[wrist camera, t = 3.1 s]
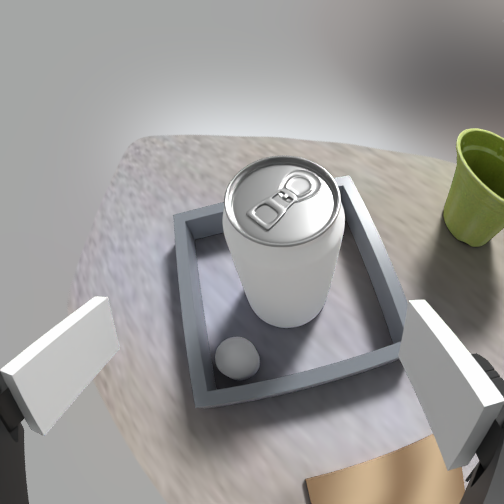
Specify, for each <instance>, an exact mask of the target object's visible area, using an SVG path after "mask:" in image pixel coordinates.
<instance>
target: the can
mask: <svg viewBox="0 0 504 504" xmlns="http://www.w3.org/2000/svg"><path fill="white" fill-rule="evenodd" d="M222 223H223V231H224V235H225V238H226V242H227V245H228V248H229V250H230V253H231V256H232V259H233V262H234V264H235V267H236V270H237V272H238V275H239V278H240V280H241V283H242V286H243V288H244V291H245V294H246V296H247V299H248V301H249V303H250V306H251V308H252V309H253V311H254V312H255V313H256V315H257V316H258V317H259V318H260V319H262V320H263V321H265V322H266V323H268V324H270V325H273V326H276V327H281V328H292V327H298V326H301V325H304V324H306V323H308V322H309V321H311V320H312V319H313V318H315V317H316V316H317V315H318V314H319V312H320V311H321V310H322V308H323V306H324V304H325V302H326V299H327V296H328V292H329V289H330V285H331V282H332V278H333V274H334V271H335V267H336V263H337V259H338V255H339V251H340V247H341V242H342V238H343V233H344V226H345V214H344V209H343V206H342V203H341V195H340V191H339V188H338V185H337V183H336V181H335V180H334V178H333V177H332V176H331V175H330V173H329V172H327V171H326V170H325V169H324V168H323V167H321V166H320V165H318V164H316V163H314V162H312V161H310V160H307V159H304V158H300V157H295V156H272V157H267V158H263V159H260V160H257V161H255V162H253V163H251V164H249V165H247V166H246V167H244V168H243V169H242V170H240V171H239V172H238V173H237V174H236V175H235V176H234V177H233V179H232V180H231V182H230V183H229V185H228V187H227V190H226V193H225V197H224V212H223V220H222Z"/></svg>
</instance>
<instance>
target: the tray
mask: <svg viewBox="0 0 504 504" xmlns="http://www.w3.org/2000/svg"><path fill="white" fill-rule="evenodd" d="M334 180H335V181H336V183H337V185H338V188H339V191H340V195H341V203H342V206H343V209H344V214H345V219H346V221H347V223H348V226H349V228H350V230H351V232H352V235H353V237H354V240H355V242H356V244H357V247H358V249H359V252H360V254H361V257H362V259H363V262H364V264H365V267H366V269H367V272H368V274H369V277H370V279H371V282H372V285H373V287H374V290H375V293H376V296H377V298H378V301H379V304H380V307H381V309H382V312H383V315H384V318H385V321H386V324H387V327H388V330H389V333H390V336H391V339H392V342H393V344H392V345H390V346H387V347H384V348H381V349H378V350H375V351H372V352H369V353H366V354H363V355H360V356H357V357H353V358H350V359H347V360H343V361H340V362H337V363H333V364H330V365H326V366H323V367H319V368H315V369H312V370H308V371H304V372H300V373H296V374H292V375H288V376H283V377H279V378H275V379H270V380H266V381H261V382H256V383H251V384H246V385H241V386H236V387H230V388H225V389H219V390H217V389H216V384H215V378H214V372H213V366H212V361H211V355H210V349H209V342H208V336H207V330H206V323H205V316H204V309H203V302H202V295H201V288H200V281H199V273H198V265H197V257H196V248H195V239H199V238H203V237H207V236H212V235H216V234H220V233H224V231H223V223H222V220H223V212H224V202H222V203H218V204H214V205H210V206H206V207H202V208H198V209H195V210H191V211H187V212H183V213H179V214H175V215H173V217H174V233H175V247H176V260H177V271H178V282H179V292H180V302H181V311H182V320H183V328H184V336H185V343H186V351H187V358H188V365H189V372H190V378H191V385H192V391H193V397H194V403H195V408H213V407H220V406H226V405H232V404H238V403H244V402H249V401H254V400H259V399H264V398H269V397H273V396H278V395H282V394H287V393H291V392H295V391H299V390H303V389H307V388H311V387H315V386H318V385H322V384H326V383H329V382H333V381H336V380H339V379H343V378H346V377H349V376H353V375H356V374H359V373H362V372H365V371H368V370H371V369H374V368H377V367H380V366H382V365H385V364H388V363H391V362H394V361H396V360H399V357H398V355H399V350H400V345H401V340H402V335H403V330H404V325H405V319H406V313H407V307H408V302H407V300H406V297H405V294H404V292H403V289H402V287H401V284H400V282H399V279H398V277H397V275H396V272H395V270H394V267H393V265H392V263H391V260H390V258H389V256H388V253H387V251H386V249H385V247H384V244H383V242H382V240H381V238H380V236H379V233H378V231H377V229H376V227H375V225H374V223H373V221H372V219H371V217H370V215H369V212H368V210H367V208H366V206H365V204H364V202H363V200H362V198H361V196H360V194H359V193H358V191H357V189H356V187H355V185H354V183H353V181H352V179H351V177H350V175H348V176H343V177H337V178H334ZM215 362H216V365H217V367H218V369H219V370H220V371H221V372H222V373H223V374H224V375H226V376H228V377H230V378H231V379H234V380H239V381H242V380H247V379H249V378H251V377H252V376H254V375H255V374H256V372H257V371H258V369H259V366H260V357H259V354H258V352H257V350H256V348H255V347H254V345H253V344H252V343H251V342H250V341H249V340H247V339H245V338H243V337H231V338H228V339H226V340H224V341H223V342H222V343H221V344H220V345H219V346H218V348H217V350H216V353H215Z"/></svg>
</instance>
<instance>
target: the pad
mask: <svg viewBox="0 0 504 504" xmlns="http://www.w3.org/2000/svg"><path fill="white" fill-rule="evenodd" d="M306 483H307V487H308V492H309V496H310V500H311V504H459V503H460V501H461V499H462V497H463V495H464V493H465V489H464V481H463V473H462V467H459V468H456V469H452V470H449V471H447V468H446V465H445V463H444V460H443V457H442V455H441V452H440V450H439V447H438V444H437V442H436V439H435V437H434V435H433V434H432V435H430V436H428V437H425V438H423V439H421V440H419V441H417V442H415V443H412V444H410V445H408V446H405V447H403V448H401V449H398V450H396V451H393V452H391V453H388V454H385V455H383V456H380V457H377V458H375V459H372V460H369V461H366V462H363V463H360V464H357V465H354V466H351V467H348V468H344V469H341V470H338V471H334V472H331V473H327V474H323V475H319V476H315V477H311V478H307V479H306Z"/></svg>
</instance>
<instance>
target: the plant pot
mask: <svg viewBox="0 0 504 504" xmlns="http://www.w3.org/2000/svg"><path fill="white" fill-rule="evenodd" d="M456 150H457V167H456V170H455V174H454V178H453V181H452V184H451V188H450V191H449V194H448V197H447V200H446V203H445V206H444V214H443V216H444V221H445V223H446V226H447V227H448V229H449V231H450V232H451V233H452V234H453V236H454V237H455V238H456V239H458V240H460V241H463V242H465V243H467V244H469V245H470V246H472V247H479V246H483V245H484V244H486V243H487V242H488V241H489V240H490V239H492V238H493V237H494V236H495V235H496V234H497V233H499V232H500V231H501V230H502V229H503V228H504V138H502V137H500V136H498V135H496V134H494V133H492V132H489V131H486V130H482V129H477V128H476V129H475V128H474V129H467V130H464V131H463V132H461V133H460V135H459V136H458V138H457V142H456Z"/></svg>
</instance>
